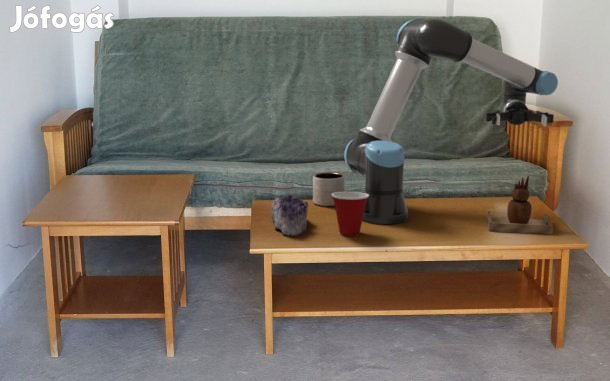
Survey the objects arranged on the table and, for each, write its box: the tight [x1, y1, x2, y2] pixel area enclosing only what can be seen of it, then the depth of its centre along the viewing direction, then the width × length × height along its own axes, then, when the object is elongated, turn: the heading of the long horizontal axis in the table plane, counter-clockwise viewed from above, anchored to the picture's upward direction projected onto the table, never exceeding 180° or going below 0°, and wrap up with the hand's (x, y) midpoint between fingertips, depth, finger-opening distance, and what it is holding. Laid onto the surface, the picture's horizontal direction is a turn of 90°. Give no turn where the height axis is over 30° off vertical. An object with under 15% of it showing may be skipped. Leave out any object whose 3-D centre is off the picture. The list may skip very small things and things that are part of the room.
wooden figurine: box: [506, 175, 533, 224], centre depth 206 cm, size 7×6×15 cm
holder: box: [486, 210, 554, 235], centre depth 208 cm, size 18×13×2 cm
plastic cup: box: [332, 191, 369, 237], centre depth 201 cm, size 11×11×12 cm
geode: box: [270, 194, 309, 238], centre depth 208 cm, size 20×12×10 cm, turn 8°
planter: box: [312, 171, 346, 207], centre depth 235 cm, size 11×11×10 cm
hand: (521, 121), depth 211 cm, fingers open, 13 cm apart
